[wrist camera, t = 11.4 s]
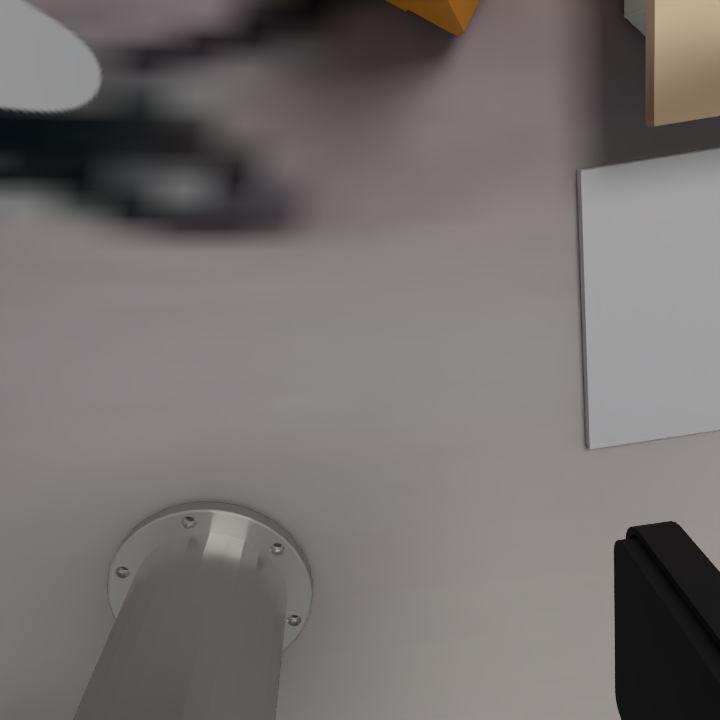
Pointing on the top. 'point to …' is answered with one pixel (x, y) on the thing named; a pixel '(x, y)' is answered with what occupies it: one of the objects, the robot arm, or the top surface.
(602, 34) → the top surface
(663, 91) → the lid
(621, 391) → the mat
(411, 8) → the bracket
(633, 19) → the bowl
